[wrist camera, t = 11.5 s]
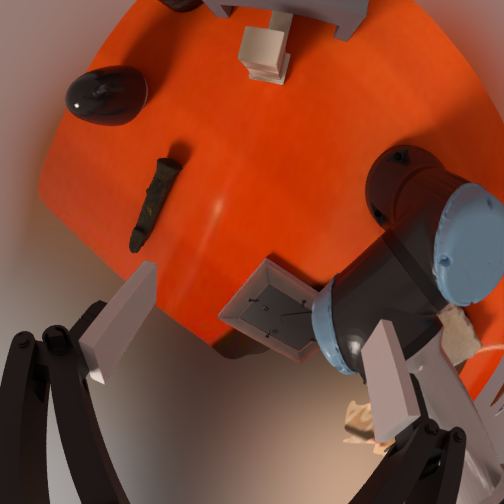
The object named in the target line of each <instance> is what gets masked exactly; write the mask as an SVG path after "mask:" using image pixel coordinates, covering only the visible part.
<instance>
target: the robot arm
mask: <svg viewBox="0 0 504 504" xmlns="http://www.w3.org/2000/svg"><path fill="white" fill-rule="evenodd" d="M365 195H366V202H367V205H368V208H369V211H370V213H371V215H372V216H373V218H374V219H375V220H376V222H377V223H378V224H379V225H380V226H381V227H382V228H383V229H384V230H385V232H384V233H383V234H382V235H381V236H380V237H379V238H378V239H377V240H376V241H375V242H374V243H373V244H371V245H370V246H369V247H368V248H367V249H366V250H365V251H364V252H363V253H362V254H361V255H360V256H358V257H357V258H356V259H355V260H354V261H353V262H352V263H351V264H350V265H349V266H347V267H346V268H345V269H344V270H343V271H342V272H341V273H337V274H336V275H335V276H334V277H333V278H332V280H331V282H330V283H329V284H328V285H327V286H325V287H324V288H323V289H322V290H321V291H320V292H319V293H318V294H317V296H316V297H315V299H314V302H313V306H312V315H311V316H312V325H313V330H314V333H315V336H316V339H317V342H318V344H319V346H320V348H321V350H322V352H323V354H324V355H325V357H326V358H327V360H328V361H329V362H330V364H331V365H332V366H333V367H337V369H338V371H339V372H341V373H343V374H346V375H351V374H357V373H358V372H359V374H360V375H361V377H362V378H363V380H364V382H365V383H366V385H368V391H369V397H370V404H371V410H372V417H373V425H374V432H375V441H376V442H389V441H390V440H391V439H393V438H394V437H395V441H396V442H395V443H394V444H392V445H391V446H389V447H388V448H387V449H385V450H384V452H386V451H388V450H389V451H388V452H387V454H386V455H385V457H384V458H383V460H382V461H381V462H380V464H379V465H378V467H377V468H376V469H375V471H374V472H373V474H372V475H371V476H370V477H369V479H368V480H367V482H366V483H365V484H364V485H363V487H362V488H361V489H360V490H359V492H358V493H357V494H356V495H355V496H354V497H353V499H352V500H351V501H350V502H349V503H348V504H504V464H500V463H499V460H498V458H497V455H496V452H495V450H494V447H493V445H492V443H491V440H490V438H489V436H488V433H487V431H486V429H485V426H484V424H483V422H482V420H481V418H480V416H479V414H478V411H477V409H476V407H475V405H474V403H473V401H472V399H471V397H470V395H469V394H468V392H467V390H466V388H465V386H464V384H463V382H462V380H461V379H460V377H459V375H458V373H457V371H456V370H455V368H454V366H453V364H452V363H451V361H450V359H449V358H448V356H447V354H446V353H445V351H444V349H443V348H442V344H441V342H442V337H443V332H444V325H443V324H442V322H441V320H440V319H439V317H438V316H437V314H438V313H439V312H440V311H441V310H442V309H443V308H445V307H446V306H447V305H448V304H449V303H450V302H451V303H452V304H455V305H457V306H469V305H470V304H471V302H473V303H477V302H479V301H481V300H482V299H484V298H485V297H486V296H487V295H489V294H490V293H491V291H492V290H493V289H494V288H495V287H496V285H497V284H498V283H499V281H500V280H501V278H502V276H503V274H504V205H503V204H502V202H501V201H500V200H499V199H497V198H496V197H495V196H494V195H492V194H491V193H489V192H488V191H487V190H486V189H485V188H484V187H482V186H481V185H479V184H476V183H472V182H470V181H468V180H466V179H464V178H462V177H460V176H458V175H456V174H453V173H451V172H449V171H447V170H446V169H445V168H444V166H443V165H442V163H441V162H440V161H439V160H438V159H437V158H436V157H435V156H434V155H433V154H432V153H430V152H429V151H427V150H425V149H422V148H419V147H416V146H411V145H401V146H397V147H393V148H391V149H389V150H387V151H386V152H384V153H383V154H382V155H381V156H380V157H379V158H378V159H377V160H376V161H375V162H374V164H373V165H372V167H371V169H370V171H369V174H368V177H367V181H366V187H365ZM156 281H157V264H156V263H153V262H149V261H146V260H145V261H144V262H143V263H142V264H141V265H140V266H139V267H138V269H137V270H136V271H135V272H134V273H133V274H132V275H131V277H130V278H129V279H128V280H127V281H126V282H125V283H124V285H123V286H122V287H121V288H120V290H119V291H118V292H117V293H116V294H115V295H114V297H113V298H112V299H111V300H110V301H109V303H106V302H103V301H100V300H99V301H97V302H95V303H94V304H92V305H91V306H90V307H89V308H88V309H87V311H86V312H85V313H84V314H83V315H82V316H81V318H80V319H79V320H78V321H77V322H76V323H75V325H74V326H73V327H72V328H71V330H70V331H69V332H68V330H67V329H66V328H65V327H64V326H61V325H53V326H50V327H48V328H47V329H46V330H45V331H44V332H43V335H42V339H43V342H42V341H37V340H35V338H34V336H33V334H32V333H30V332H28V331H22V332H19V333H18V334H16V335H15V336H14V338H13V340H12V343H11V346H10V349H9V353H8V356H7V360H6V364H5V368H4V372H3V376H2V381H1V386H0V504H50V500H49V491H48V480H47V461H46V460H47V459H46V433H47V412H48V400H49V390H50V384H51V391H52V398H53V404H54V410H55V414H56V420H57V424H58V429H59V434H60V438H61V442H62V446H63V450H64V453H65V457H66V460H67V464H68V467H69V470H70V473H71V476H72V479H73V482H74V485H75V487H76V490H77V493H78V495H79V498H80V500H81V503H82V504H130V502H129V500H128V498H127V496H126V494H125V492H124V490H123V488H122V485H121V483H120V481H119V479H118V477H117V474H116V472H115V469H114V467H113V464H112V462H111V459H110V457H109V454H108V451H107V449H106V446H105V443H104V440H103V437H102V434H101V432H100V428H99V425H98V422H97V418H96V415H95V411H94V408H93V404H92V400H91V397H90V392H89V389H88V384H87V380H86V376H87V374H88V373H89V372H90V375H91V377H92V379H94V380H97V381H98V382H101V383H103V384H106V382H107V381H108V379H109V377H110V375H111V374H112V372H113V370H114V369H115V367H116V365H117V364H118V362H119V360H120V359H121V357H122V355H123V354H124V352H125V350H126V349H127V347H128V345H129V344H130V342H131V340H132V339H133V337H134V336H135V334H136V332H137V331H138V329H139V327H140V326H141V324H142V323H143V321H144V320H145V318H146V316H147V315H148V313H149V312H150V310H151V309H152V307H153V306H154V304H155V303H156ZM404 502H405V503H404Z"/></svg>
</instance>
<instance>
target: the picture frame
mask: <svg viewBox="0 0 504 504" xmlns="http://www.w3.org/2000/svg"><path fill="white" fill-rule="evenodd" d="M318 293H319V292H318V291H316V290H315V289H313V288H312V287H310V286H309V285H307V284H306V283H304V282H303V281H301V280H300V279H298V278H297V277H295V276H294V275H292V274H291V273H289V272H288V271H286V270H285V269H283V268H282V267H280V266H279V265H277V264H276V263H274V262H273V261H271V260H270V259H268V258H266V257H265V259H264V260H263V261H262V262H261V264H260V265H259V266H258V267H257V268H256V270H255V271H254V272H253V273H252V274H251V276H250V277H249V278H248V279H247V280H246V282H245V283H244V284H243V285H242V286H241V288H240V289H239V290H238V291H237V292H236V294H235V295H234V296H233V297H232V298H231V300H230V301H229V302H228V303H227V304H226V306H225V307H224V308H223V309H222V310H221V312H220V313H219V315H218V319H220V320H221V321H223V322H225V323H227V324H228V325H230V326H232V327H233V328H235V329H237V330H239V331H240V332H242V333H244V334H246V335H248V336H249V337H251V338H253V339H255V340H257V341H258V342H260V343H262V344H264V345H266V346H268V347H270V348H271V349H273V350H275V351H277V352H279V353H281V354H283V355H285V356H287V357H289V358H291V359H293V360H294V361H296V362H298V363H300V364H302V363H303V362H304V361H305V360H307V359H308V358H309V357H310V356H312V355H313V354H315V353H316V352H317V351H318V350H319V349H321V348H320V346H319V344H318V342H317V339H316V336H315V333H314V330H313V325H312V316H311V315H312V306H313V302H314V299H315V297H316V296H317V294H318Z"/></svg>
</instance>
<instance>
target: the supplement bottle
mask: <svg viewBox="0 0 504 504" xmlns="http://www.w3.org/2000/svg"><path fill="white" fill-rule="evenodd" d="M158 1H160V2H161V3H162V4H164V5H165V6H167V7H168V8H169V9H171V10H173V11H175V12H180V13H183V12H189V11H192V10H194V9H196V8H197V7H199V6H200V5H201V4H202V3H203V1H202V0H158Z"/></svg>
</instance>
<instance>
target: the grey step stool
mask: <svg viewBox="0 0 504 504" xmlns="http://www.w3.org/2000/svg"><path fill="white" fill-rule="evenodd" d="M202 1H203V2H204V3H205V4H206V5H207V6H208V7H209V9H210V10H211V11H212V12H213V13H214V14H215V16H216V17H223V18H229V17H230V13H231V10H232V7H231V6H242V7H251V8H259V9H266V10H273V11H279V12H284V13H290V14H294V15H299V16H304V17H308V18H312V19H316V20H320V21H324V22H327V23H331V24H334V25H337V27H336V30H335V34H334V38H336V39H339V40H342V41H345V42H347V41H348V39H349V38H350V37H351V35H352V34H353V33H354V31H355V30H356V29H357V28H358V26H359V25H360V24H361V23H362V21H363V20H364V19H365V18H366V14H367V8H368V3H369V0H202Z"/></svg>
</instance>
